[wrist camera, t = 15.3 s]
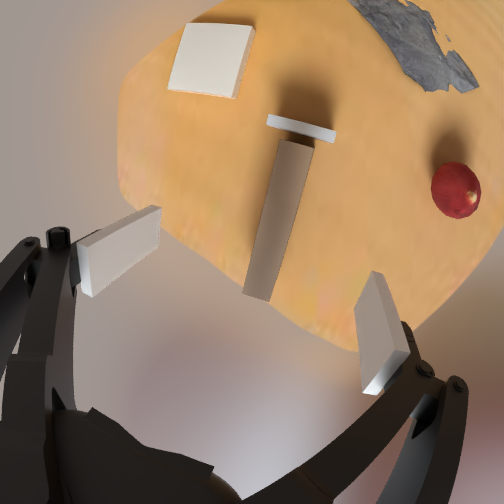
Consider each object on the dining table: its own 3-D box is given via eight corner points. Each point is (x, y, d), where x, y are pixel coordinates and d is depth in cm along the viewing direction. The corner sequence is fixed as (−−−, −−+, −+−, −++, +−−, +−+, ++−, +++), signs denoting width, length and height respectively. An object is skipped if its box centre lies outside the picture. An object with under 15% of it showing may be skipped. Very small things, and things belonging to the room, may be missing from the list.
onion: (468, 191, 24) (504, 207, 17) (436, 218, 26) (467, 242, 19) (445, 150, 23) (481, 155, 16) (412, 178, 25) (441, 190, 18)
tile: (237, 99, 27) (256, 33, 23) (231, 96, 25) (252, 26, 21) (176, 91, 28) (194, 28, 24) (167, 88, 26) (186, 23, 22)
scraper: (332, 134, 26) (336, 131, 21) (289, 279, 34) (282, 306, 28) (278, 119, 27) (268, 113, 21) (243, 265, 34) (228, 288, 29)
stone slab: (482, 85, 17) (430, 109, 21) (475, 87, 19) (424, 111, 22) (393, -30, 14) (332, -15, 17) (390, -23, 16) (332, -7, 19)
